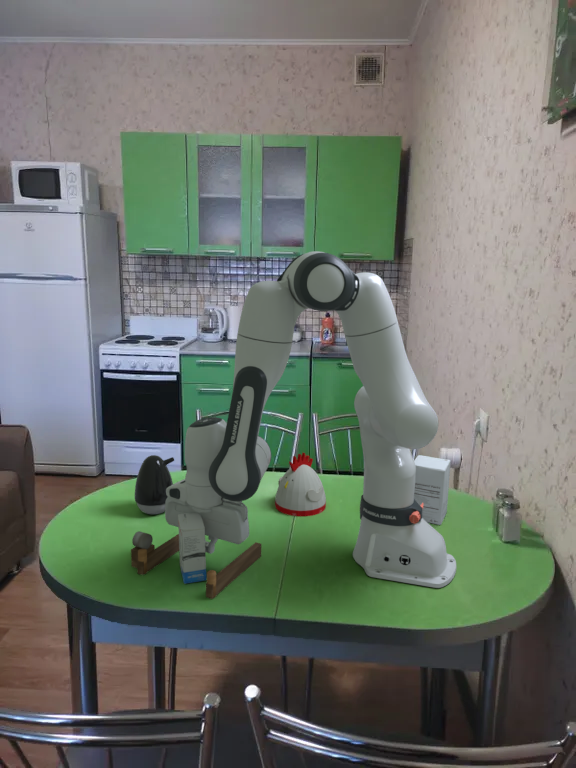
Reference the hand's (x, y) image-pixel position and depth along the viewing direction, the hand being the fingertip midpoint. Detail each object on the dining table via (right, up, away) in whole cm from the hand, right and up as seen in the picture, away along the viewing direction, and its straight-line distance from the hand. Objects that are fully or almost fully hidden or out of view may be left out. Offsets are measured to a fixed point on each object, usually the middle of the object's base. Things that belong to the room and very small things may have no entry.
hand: (206, 551), depth 121 cm
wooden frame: (-2, -2, -1) cm, 3 cm away
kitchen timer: (+21, +3, +30) cm, 37 cm away
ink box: (-2, -3, -4) cm, 6 cm away
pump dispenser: (-17, +3, +25) cm, 31 cm away
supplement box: (+55, +2, +25) cm, 60 cm away
